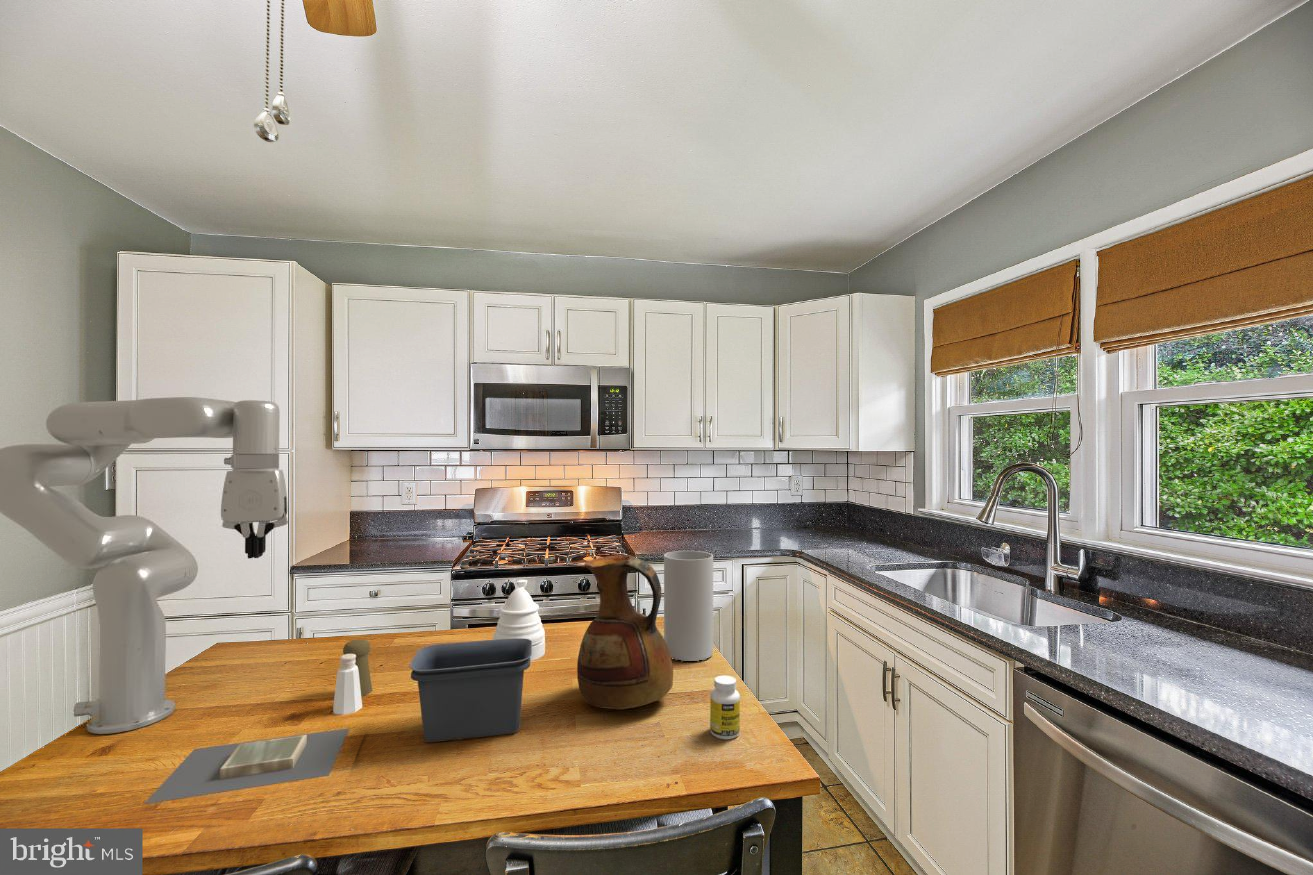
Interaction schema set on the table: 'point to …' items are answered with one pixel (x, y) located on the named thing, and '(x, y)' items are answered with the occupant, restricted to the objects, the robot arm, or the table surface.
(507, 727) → the storage bin
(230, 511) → the robot arm
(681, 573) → the cylinder vase
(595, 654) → the ceramic pitcher
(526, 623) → the honey pot
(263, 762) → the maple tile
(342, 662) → the salt shaker
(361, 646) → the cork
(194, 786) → the rubber mat
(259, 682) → the table surface
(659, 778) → the table surface
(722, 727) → the supplement bottle
